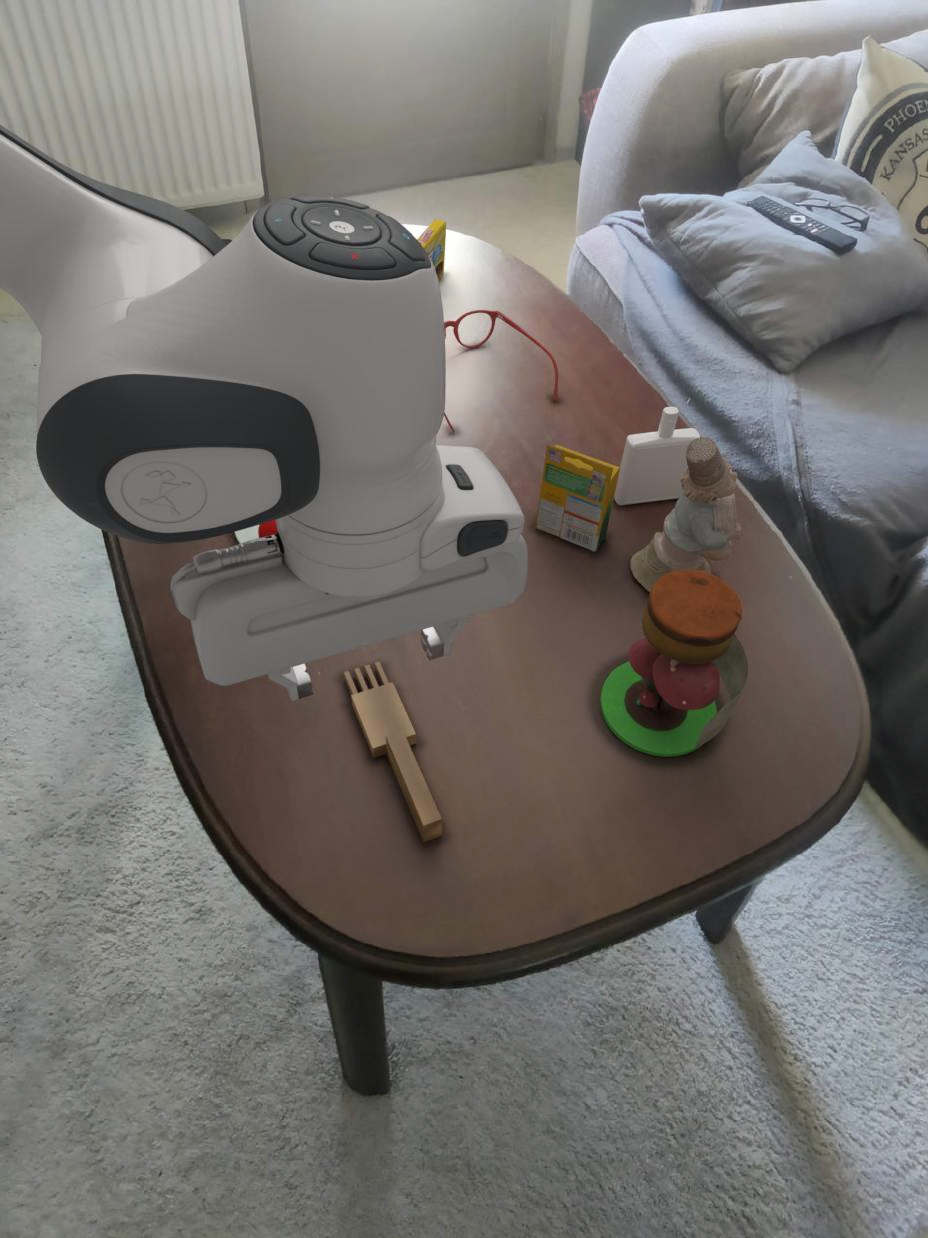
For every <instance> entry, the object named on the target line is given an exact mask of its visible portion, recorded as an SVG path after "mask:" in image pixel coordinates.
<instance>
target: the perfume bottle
mask: <svg viewBox="0 0 928 1238" xmlns="http://www.w3.org/2000/svg"><path fill="white" fill-rule="evenodd" d="M679 414H680V410H679V409H678V407H676V406H667V407H666V406H665V407H664V408H663V409H662V413H661V416H660V420H659V425H658V429H657V431H649V432H641V433H634V434H628V435H627V436H626V440H625V445H624V450H623V453H622V458H621V462H620V466H619V467H620V473H619V477H618V482H617V486H616V491H615V495H614V502H615V503H616V504H617V505H618V506H626V505H635V504H636V505H637V504H644V503H653V502H660V501H668V500H678V499H679V498H680V497H681V495H682V492H683V488H682V485H681V484H682V483H681V479H682V478H683V477H684V473H685V472H686V471H687V469H688V465H687V460H686V452H687V447H688V445H689V444H690V442H692V441H693V440H694V439H696V438H700V437H701V435H700V433H699V431H698V430H697V429H696V428H694V427H688V428H677V429H675V428H676V425H677V422H678V417H679Z"/></svg>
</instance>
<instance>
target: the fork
mask: <svg viewBox="0 0 928 1238" xmlns="http://www.w3.org/2000/svg"><path fill="white" fill-rule="evenodd" d="M363 667H364V674H365V676H366V680H367V681H368V683H369V686H370V688H369V687H368V685H367V682H366V680H365V678H364V676H363V674H362V671H361V668H360V667H356V668H354V669H353V671H354V672H353V673H354V678H355V680H356V683H357V685H358V687H359V689H360V692H358V689H357V687H356V684H355V682H354V680H353V677H352V675H351V672H350V670H346V671H344V672H343V677H344V682H345V684H346V686H347V689H348V691H349V694H350V699H351V706H352V708H353V711H354V713H355V716H356V719H357V721H358V723H359V726H360V728H361V731H362V734H363V736H364V738H365V740H366V743H367V745H368V748H369V750H370V753H371V756H372V758H373V759H375V758H378V757H381V756H383V755H386V756H387V759H388V761H389V764H390V766H391V768H392V771H393V773H394V775H395V778H396V780H397V783H398V784H399V787H400V790H401V792H402V794H403V797H404V799H405V801H406V804H407V806H408V809H409V811H410V813H411V816H412V819H413V821H414V823H415V825H416V828H417V830H418V833H419V835H420V837H421V840H422V842H423V843H426V842H429V841H431V840H434V839H436V838H439V837H442V833H443V831H442V830H443V818H442V815H441V814H440V811H439V809H438V807H437V803H436V802H435V799H434V797H433V795H432V793H431V791H430V788H429V785H428V784H427V782H426V779H425V777H424V774H423V772H422V770H421V768H420V766H419V765H420V764H419V763H418V761H417V759H416V757H415V754H414V752H413V750H412V748H411V746H413V745H416V744H417V734H416V731H415V728H414V726H413V724H412V721H411V720H410V717H409V715H408V713H407V711H406V708H405V706H404V704H403V702H402V699H401V697H400V695H399V692H398V690H397V688H396V686H395V684H394V682H393V681H391V682H389V680H388V677H387V675H386V673H385V671H384V668H383V666H382V664H381V662H380V661H379V660H378V661H375V662H374V671H373V670H372V667H371V665H370V664H366V665H364V666H363ZM374 672H375V674H376V675H377V677H378V680H379V683H380V686H379V683H378V681H377V679H376V676H375V674H374Z"/></svg>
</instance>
